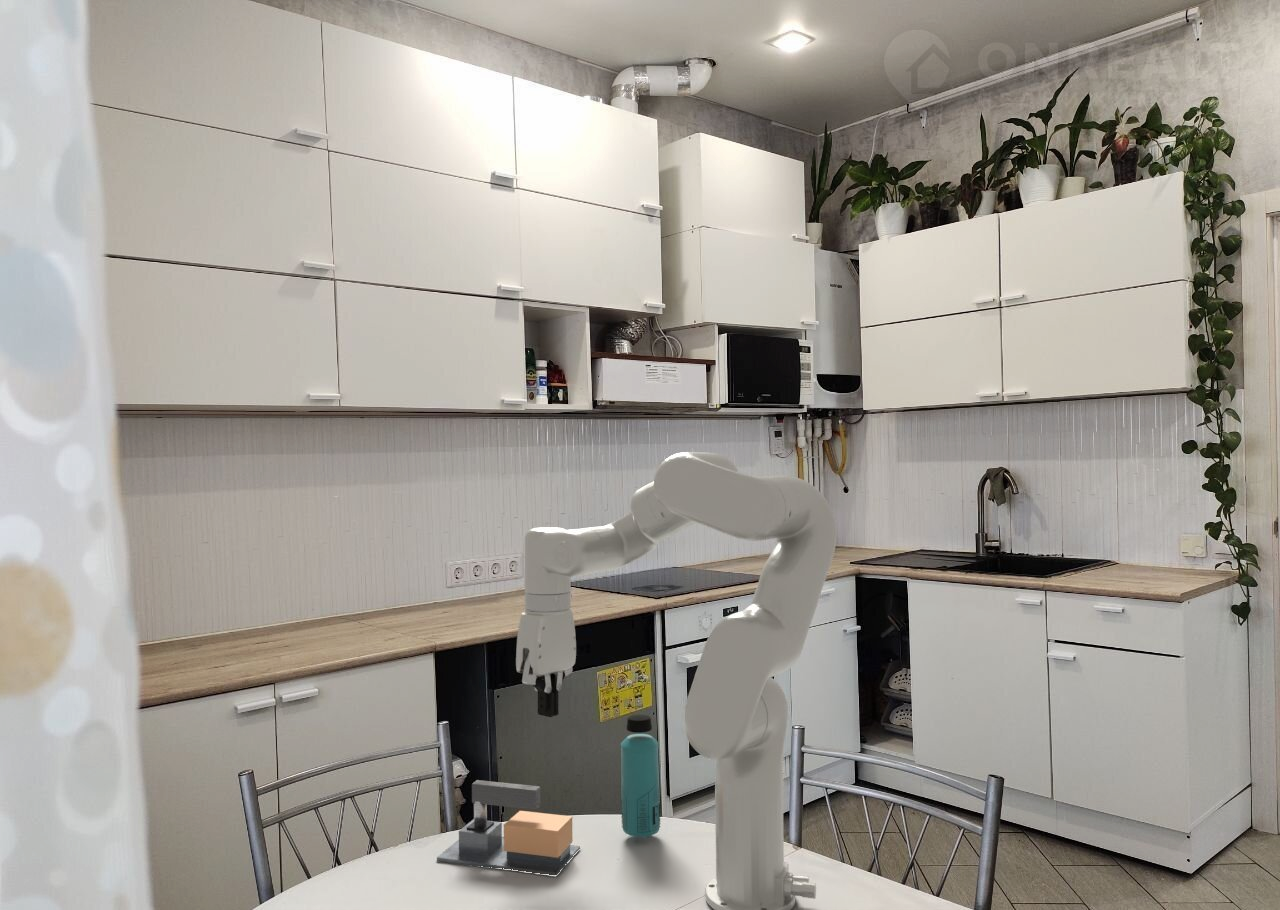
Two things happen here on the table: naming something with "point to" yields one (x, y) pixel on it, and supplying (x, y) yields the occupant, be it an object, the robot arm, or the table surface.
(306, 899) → the table surface
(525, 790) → the t key
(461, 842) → the latch base
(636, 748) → the beverage bottle
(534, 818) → the cover
